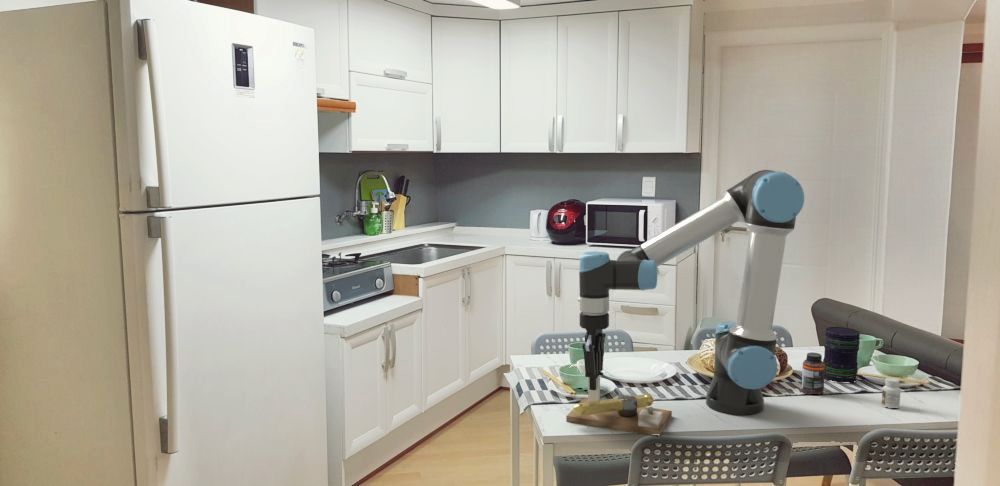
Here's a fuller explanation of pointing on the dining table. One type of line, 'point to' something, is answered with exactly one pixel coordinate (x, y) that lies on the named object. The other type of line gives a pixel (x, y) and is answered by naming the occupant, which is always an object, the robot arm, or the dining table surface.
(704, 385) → the dining table surface
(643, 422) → the stand
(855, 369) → the storage jar
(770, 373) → the robot arm
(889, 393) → the pill bottle
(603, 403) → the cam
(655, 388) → the dining table surface
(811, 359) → the supplement bottle
